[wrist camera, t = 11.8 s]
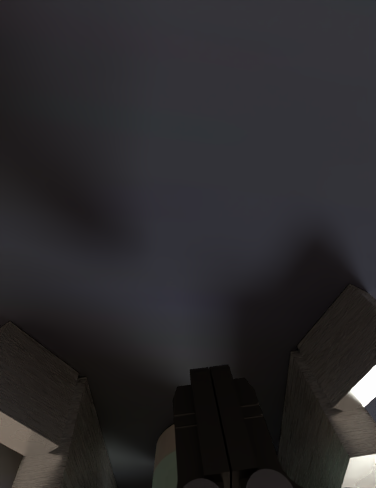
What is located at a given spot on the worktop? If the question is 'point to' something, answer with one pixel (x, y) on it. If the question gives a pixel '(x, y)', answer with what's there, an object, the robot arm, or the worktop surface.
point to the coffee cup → (165, 461)
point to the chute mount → (293, 421)
